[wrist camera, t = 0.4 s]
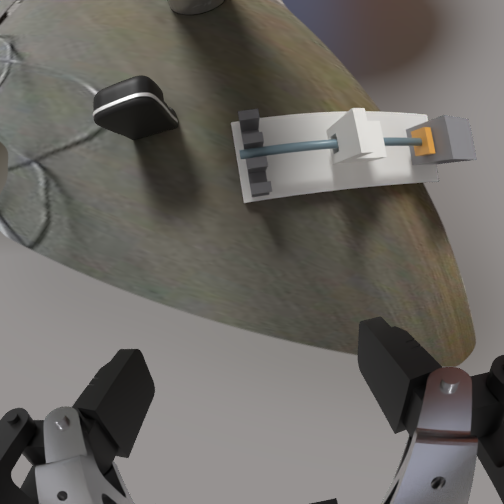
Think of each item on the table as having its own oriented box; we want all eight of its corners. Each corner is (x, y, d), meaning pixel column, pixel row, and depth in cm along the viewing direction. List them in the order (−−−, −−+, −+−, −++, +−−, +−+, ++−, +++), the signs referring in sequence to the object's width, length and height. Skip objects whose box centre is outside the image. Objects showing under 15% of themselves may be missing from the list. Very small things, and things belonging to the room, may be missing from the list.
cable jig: (231, 125, 31) (223, 96, 21) (421, 117, 30) (464, 99, 20) (244, 202, 33) (241, 204, 23) (433, 181, 32) (480, 180, 22)
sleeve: (326, 130, 28) (352, 108, 19) (365, 128, 27) (400, 109, 19) (332, 164, 28) (361, 152, 20) (371, 161, 28) (409, 151, 20)
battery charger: (177, 102, 30) (147, 65, 19) (180, 127, 31) (149, 98, 20) (129, 116, 31) (86, 90, 19) (131, 141, 31) (86, 122, 20)
